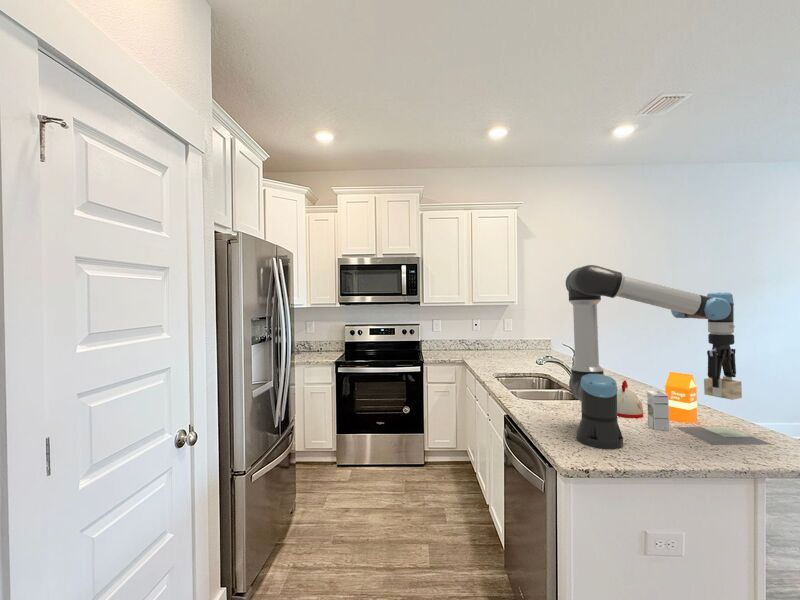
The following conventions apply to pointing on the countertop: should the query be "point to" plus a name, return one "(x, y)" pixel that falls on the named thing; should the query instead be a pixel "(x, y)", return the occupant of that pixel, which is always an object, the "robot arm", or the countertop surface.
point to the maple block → (725, 388)
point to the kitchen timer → (628, 403)
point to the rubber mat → (722, 436)
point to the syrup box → (658, 410)
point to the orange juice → (681, 397)
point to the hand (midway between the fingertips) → (722, 395)
